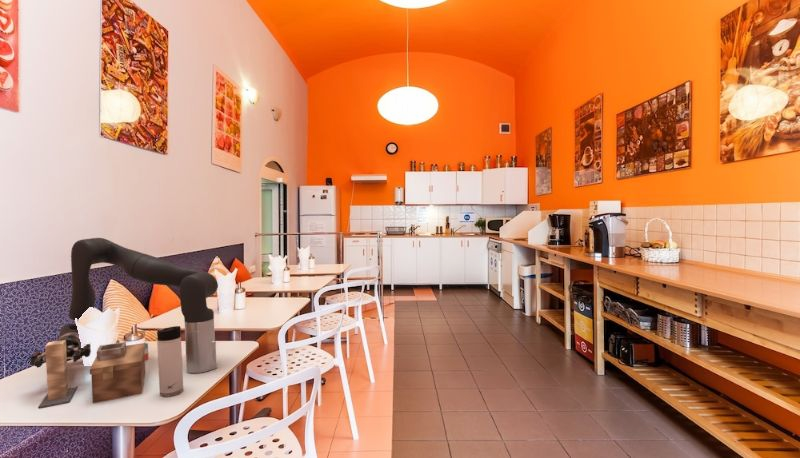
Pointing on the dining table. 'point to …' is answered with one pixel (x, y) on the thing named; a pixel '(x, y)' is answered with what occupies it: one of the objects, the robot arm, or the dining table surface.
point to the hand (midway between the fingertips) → (56, 361)
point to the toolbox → (118, 371)
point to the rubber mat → (58, 401)
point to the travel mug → (170, 361)
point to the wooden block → (56, 369)
